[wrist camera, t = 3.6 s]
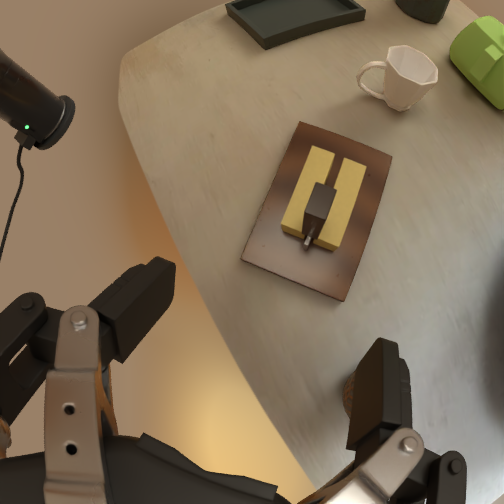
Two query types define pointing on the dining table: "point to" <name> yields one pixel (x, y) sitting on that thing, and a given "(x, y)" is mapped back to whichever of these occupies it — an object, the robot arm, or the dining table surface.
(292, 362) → the dining table surface
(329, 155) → the butter
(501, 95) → the teapot
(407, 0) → the bottle
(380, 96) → the cup
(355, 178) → the butter
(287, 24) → the tray
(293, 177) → the board
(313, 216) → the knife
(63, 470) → the robot arm
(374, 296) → the dining table surface
